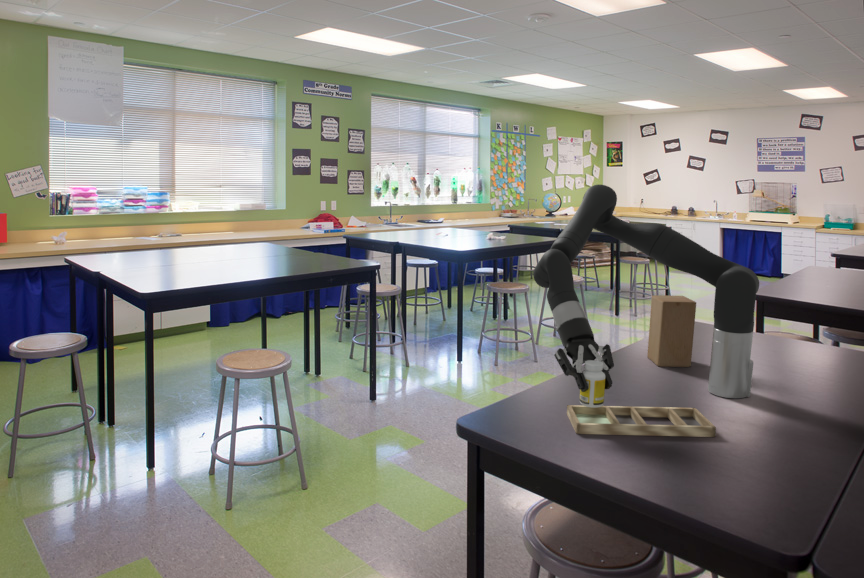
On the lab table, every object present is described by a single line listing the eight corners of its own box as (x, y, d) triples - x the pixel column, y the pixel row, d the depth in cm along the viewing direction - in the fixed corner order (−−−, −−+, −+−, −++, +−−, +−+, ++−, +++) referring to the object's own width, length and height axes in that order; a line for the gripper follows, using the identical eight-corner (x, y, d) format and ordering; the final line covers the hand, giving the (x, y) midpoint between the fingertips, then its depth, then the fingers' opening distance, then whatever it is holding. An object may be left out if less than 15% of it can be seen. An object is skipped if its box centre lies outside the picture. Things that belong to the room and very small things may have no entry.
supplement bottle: (604, 401, 142) (607, 360, 140) (602, 409, 137) (605, 367, 135) (580, 398, 143) (583, 357, 142) (577, 406, 138) (580, 364, 137)
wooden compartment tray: (694, 416, 145) (695, 407, 145) (715, 437, 134) (716, 427, 133) (566, 413, 146) (567, 405, 146) (576, 433, 135) (576, 424, 134)
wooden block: (691, 367, 183) (697, 301, 180) (657, 367, 184) (662, 301, 180) (678, 357, 193) (683, 295, 190) (646, 357, 193) (651, 295, 190)
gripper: (591, 330, 152) (616, 393, 143) (539, 334, 147) (561, 399, 138) (605, 314, 146) (632, 378, 137) (551, 318, 141) (575, 384, 132)
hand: (596, 388), depth 138 cm, fingers closed on supplement bottle, 5 cm apart
